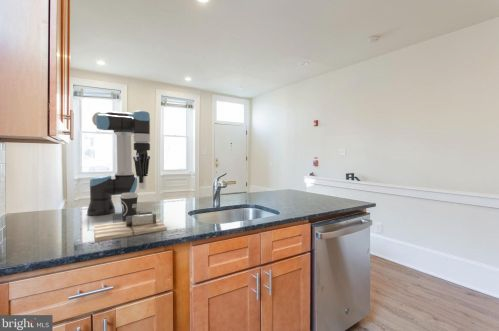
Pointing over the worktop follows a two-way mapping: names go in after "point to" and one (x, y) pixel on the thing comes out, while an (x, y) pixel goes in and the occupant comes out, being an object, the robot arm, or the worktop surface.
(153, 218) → the lock bar
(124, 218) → the coffee cup
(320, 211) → the worktop surface
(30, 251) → the worktop surface
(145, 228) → the wooden pallet
